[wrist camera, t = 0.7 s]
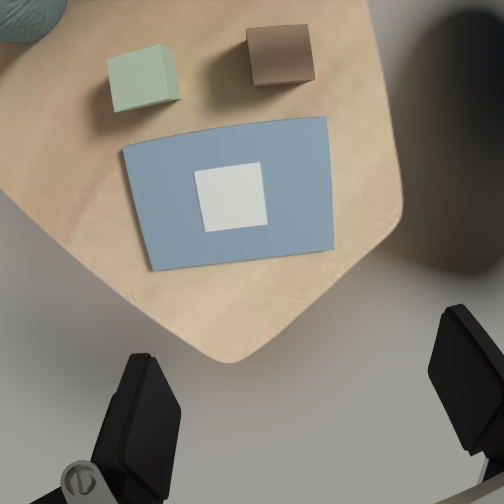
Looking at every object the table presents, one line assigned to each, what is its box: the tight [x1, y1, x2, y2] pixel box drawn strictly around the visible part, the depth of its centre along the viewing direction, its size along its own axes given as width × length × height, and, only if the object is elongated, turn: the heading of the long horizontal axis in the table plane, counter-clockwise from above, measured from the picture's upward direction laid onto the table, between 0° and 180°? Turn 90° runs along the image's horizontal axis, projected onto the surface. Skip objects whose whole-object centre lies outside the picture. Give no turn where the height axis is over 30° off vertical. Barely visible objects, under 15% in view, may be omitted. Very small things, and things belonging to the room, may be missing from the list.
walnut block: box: [246, 24, 315, 88], centre depth 24 cm, size 5×5×5 cm
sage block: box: [107, 44, 181, 112], centre depth 25 cm, size 5×5×5 cm
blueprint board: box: [122, 117, 334, 271], centre depth 32 cm, size 14×20×1 cm
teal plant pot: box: [0, 0, 67, 43], centre depth 16 cm, size 10×10×12 cm
